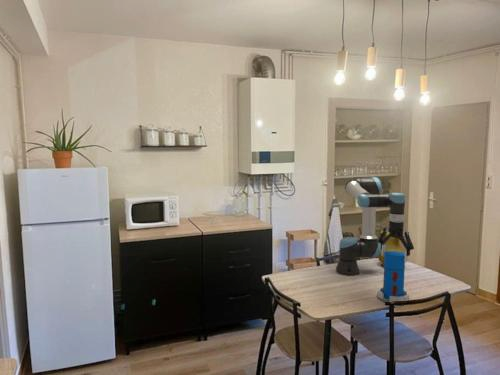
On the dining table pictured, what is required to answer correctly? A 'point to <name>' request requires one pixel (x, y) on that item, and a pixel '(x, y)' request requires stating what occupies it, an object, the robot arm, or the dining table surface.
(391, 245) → the pitcher
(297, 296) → the dining table surface
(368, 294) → the dining table surface
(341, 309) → the dining table surface
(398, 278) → the thermos
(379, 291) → the bayonet base
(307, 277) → the dining table surface
